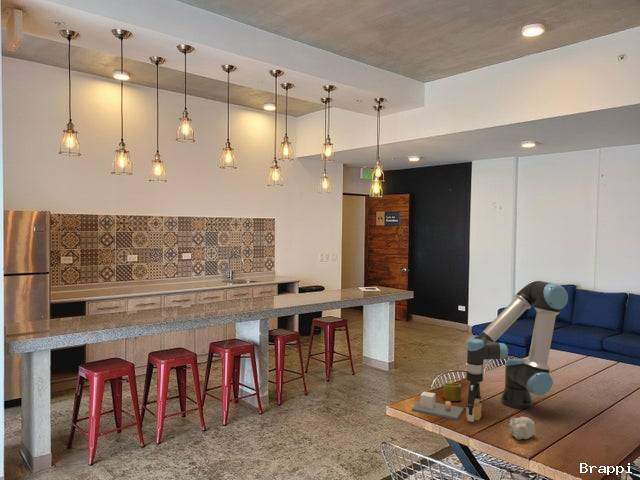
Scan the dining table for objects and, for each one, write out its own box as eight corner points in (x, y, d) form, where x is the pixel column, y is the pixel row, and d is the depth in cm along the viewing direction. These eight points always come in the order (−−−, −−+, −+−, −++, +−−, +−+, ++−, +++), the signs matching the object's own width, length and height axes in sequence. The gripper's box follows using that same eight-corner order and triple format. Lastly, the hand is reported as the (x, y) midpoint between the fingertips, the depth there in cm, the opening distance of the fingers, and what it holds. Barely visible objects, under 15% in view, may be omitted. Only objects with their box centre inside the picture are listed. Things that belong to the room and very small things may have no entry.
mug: (465, 400, 245) (459, 381, 247) (445, 405, 247) (440, 385, 249) (464, 397, 256) (459, 378, 259) (445, 401, 258) (440, 382, 261)
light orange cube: (481, 416, 230) (481, 403, 230) (479, 420, 225) (479, 407, 225) (468, 413, 233) (468, 401, 233) (465, 417, 228) (466, 405, 227)
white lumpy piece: (517, 443, 200) (501, 432, 215) (543, 442, 201) (525, 431, 216) (516, 420, 201) (500, 411, 216) (542, 420, 202) (524, 411, 217)
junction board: (463, 410, 237) (463, 395, 237) (457, 420, 225) (457, 404, 224) (419, 401, 247) (420, 388, 247) (411, 410, 235) (412, 396, 235)
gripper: (471, 364, 241) (470, 406, 241) (461, 377, 219) (459, 423, 220) (487, 366, 237) (485, 409, 238) (478, 380, 216) (476, 427, 216)
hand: (473, 416), depth 229 cm, fingers open, 12 cm apart
